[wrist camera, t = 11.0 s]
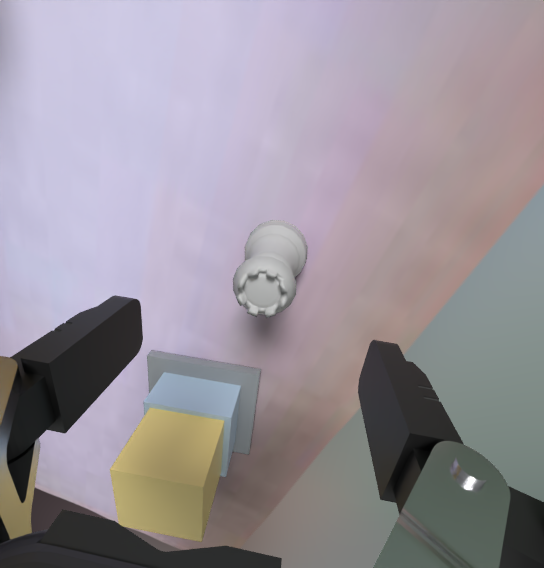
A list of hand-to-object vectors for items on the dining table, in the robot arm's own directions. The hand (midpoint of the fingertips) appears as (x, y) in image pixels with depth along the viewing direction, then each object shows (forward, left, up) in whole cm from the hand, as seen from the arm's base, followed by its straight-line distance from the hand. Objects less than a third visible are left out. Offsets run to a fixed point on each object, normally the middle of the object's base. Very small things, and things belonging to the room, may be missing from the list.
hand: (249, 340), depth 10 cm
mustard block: (-5, -16, -8) cm, 19 cm away
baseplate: (-5, -16, -12) cm, 21 cm away
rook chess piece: (0, 0, -12) cm, 12 cm away
